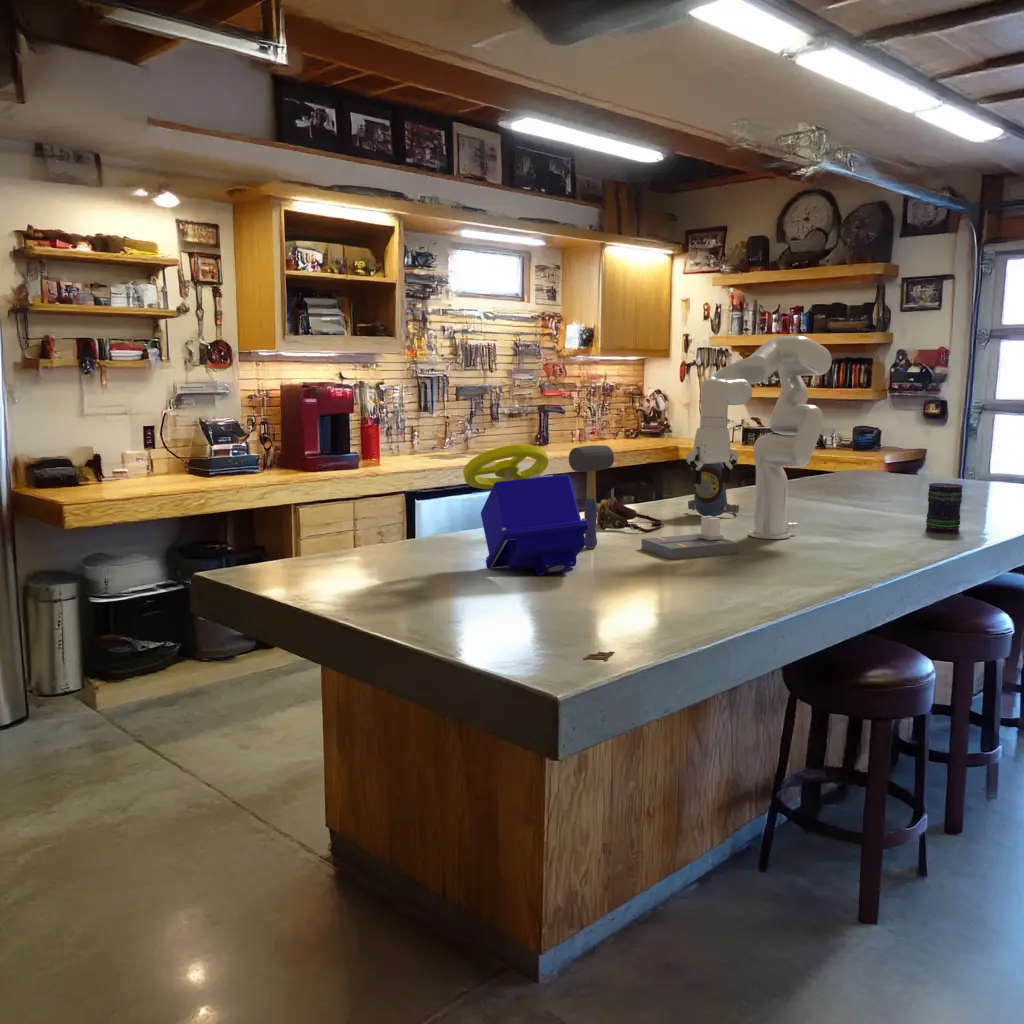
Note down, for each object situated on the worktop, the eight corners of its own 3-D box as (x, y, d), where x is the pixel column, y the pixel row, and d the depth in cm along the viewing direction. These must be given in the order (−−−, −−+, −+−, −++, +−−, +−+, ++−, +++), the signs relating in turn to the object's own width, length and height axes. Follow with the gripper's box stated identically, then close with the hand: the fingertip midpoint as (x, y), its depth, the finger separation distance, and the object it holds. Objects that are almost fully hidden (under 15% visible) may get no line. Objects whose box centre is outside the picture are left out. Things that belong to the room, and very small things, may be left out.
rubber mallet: (582, 552, 254) (583, 447, 249) (565, 548, 260) (566, 445, 255) (614, 547, 261) (616, 445, 257) (597, 543, 267) (598, 443, 263)
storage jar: (955, 535, 279) (959, 487, 277) (922, 531, 285) (925, 485, 283) (962, 530, 287) (966, 484, 285) (929, 527, 293) (932, 482, 290)
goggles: (670, 533, 283) (670, 502, 282) (596, 534, 284) (596, 503, 283) (659, 523, 308) (659, 494, 306) (591, 524, 308) (591, 495, 307)
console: (705, 543, 267) (705, 533, 267) (738, 553, 253) (738, 542, 252) (641, 548, 259) (641, 538, 259) (671, 559, 244) (671, 548, 244)
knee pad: (676, 516, 317) (678, 445, 313) (699, 509, 333) (701, 442, 329) (725, 520, 307) (728, 448, 303) (746, 513, 323) (749, 444, 319)
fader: (711, 535, 262) (712, 515, 261) (723, 539, 256) (724, 518, 255) (696, 536, 260) (697, 516, 259) (708, 540, 254) (709, 519, 253)
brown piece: (617, 627, 182) (617, 623, 182) (639, 629, 181) (639, 626, 181) (580, 661, 160) (581, 658, 160) (605, 664, 159) (605, 661, 159)
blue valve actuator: (601, 549, 215) (573, 438, 225) (494, 563, 208) (470, 448, 218) (572, 582, 238) (548, 480, 248) (475, 596, 231) (454, 490, 241)
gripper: (731, 422, 260) (728, 480, 262) (680, 423, 253) (678, 483, 256) (747, 423, 253) (744, 483, 255) (695, 424, 246) (693, 486, 249)
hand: (711, 483), depth 255 cm, fingers open, 9 cm apart
